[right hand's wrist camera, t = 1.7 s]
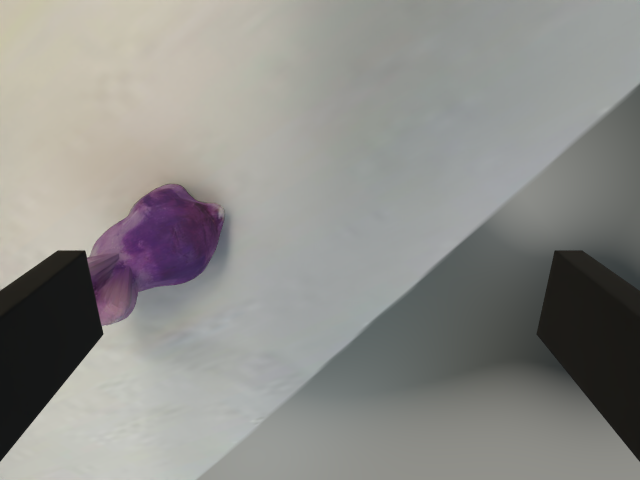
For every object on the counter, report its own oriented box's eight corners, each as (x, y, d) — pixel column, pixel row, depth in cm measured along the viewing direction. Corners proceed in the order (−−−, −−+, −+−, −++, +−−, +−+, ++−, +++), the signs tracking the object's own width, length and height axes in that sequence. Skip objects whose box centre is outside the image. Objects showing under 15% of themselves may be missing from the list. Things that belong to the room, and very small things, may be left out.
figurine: (109, 266, 41) (2, 365, 27) (129, 165, 38) (18, 221, 24) (205, 295, 43) (150, 405, 29) (233, 200, 39) (186, 273, 25)
